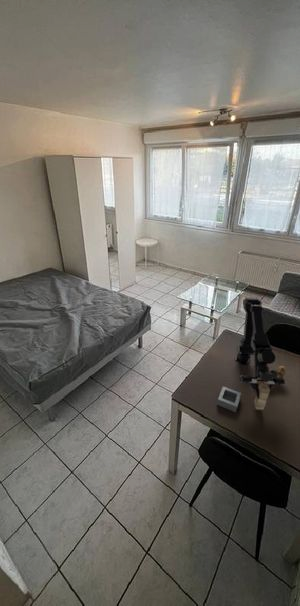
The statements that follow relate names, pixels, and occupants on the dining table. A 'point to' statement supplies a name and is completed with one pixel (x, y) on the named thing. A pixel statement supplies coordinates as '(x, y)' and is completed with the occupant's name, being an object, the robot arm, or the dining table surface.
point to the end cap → (229, 399)
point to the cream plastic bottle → (262, 396)
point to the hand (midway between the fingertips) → (262, 399)
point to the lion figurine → (279, 372)
